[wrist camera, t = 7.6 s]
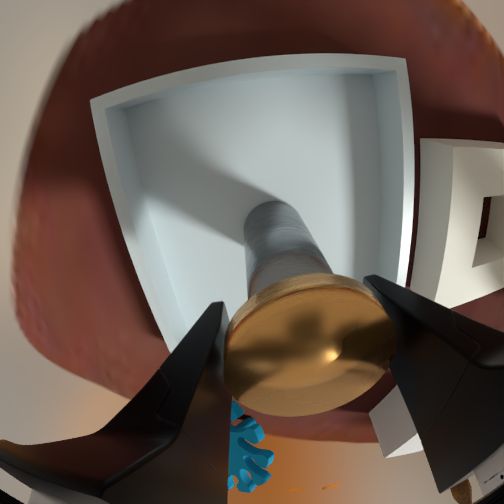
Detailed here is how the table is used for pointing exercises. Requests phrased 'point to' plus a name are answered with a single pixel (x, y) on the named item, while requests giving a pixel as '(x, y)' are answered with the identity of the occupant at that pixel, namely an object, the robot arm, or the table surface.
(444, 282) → the white square hole block
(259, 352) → the lock pin
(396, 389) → the white cube
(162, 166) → the parts tray
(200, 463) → the robot arm
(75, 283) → the table surface
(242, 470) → the gear
